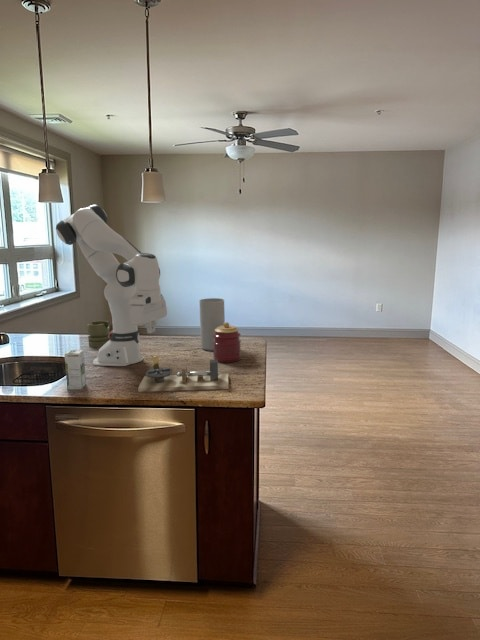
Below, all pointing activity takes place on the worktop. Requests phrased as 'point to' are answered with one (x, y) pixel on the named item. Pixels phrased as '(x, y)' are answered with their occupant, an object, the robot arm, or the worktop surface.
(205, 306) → the cylinder vase
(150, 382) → the board
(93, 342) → the olive green mug
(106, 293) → the robot arm
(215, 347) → the canister
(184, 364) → the eye post
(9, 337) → the worktop surface
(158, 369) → the handwheel
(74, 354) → the syrup box
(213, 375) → the hammer
